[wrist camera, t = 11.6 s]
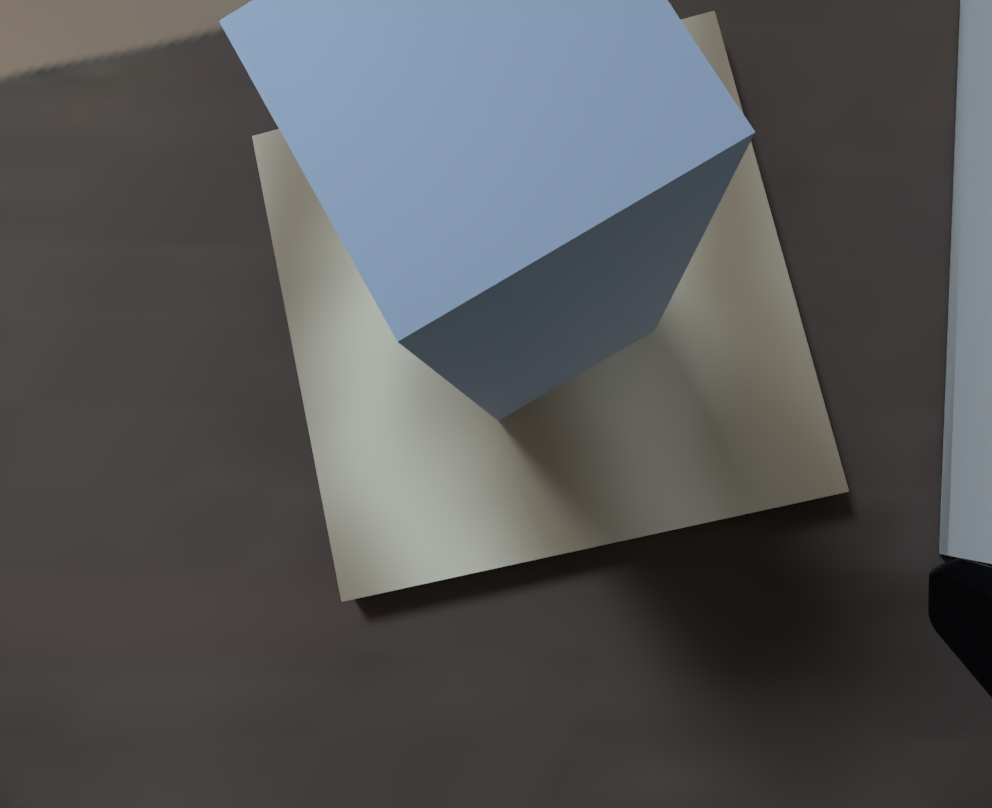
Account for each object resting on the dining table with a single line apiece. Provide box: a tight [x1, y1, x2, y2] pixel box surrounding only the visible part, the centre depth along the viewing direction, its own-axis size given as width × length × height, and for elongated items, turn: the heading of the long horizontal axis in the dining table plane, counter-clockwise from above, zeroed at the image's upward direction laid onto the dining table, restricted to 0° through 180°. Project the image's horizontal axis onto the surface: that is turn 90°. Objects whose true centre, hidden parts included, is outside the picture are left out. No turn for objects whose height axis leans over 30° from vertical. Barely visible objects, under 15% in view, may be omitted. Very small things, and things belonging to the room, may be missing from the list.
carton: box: [219, 0, 755, 421], centre depth 16 cm, size 5×5×12 cm
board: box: [252, 11, 849, 602], centre depth 22 cm, size 14×14×1 cm
